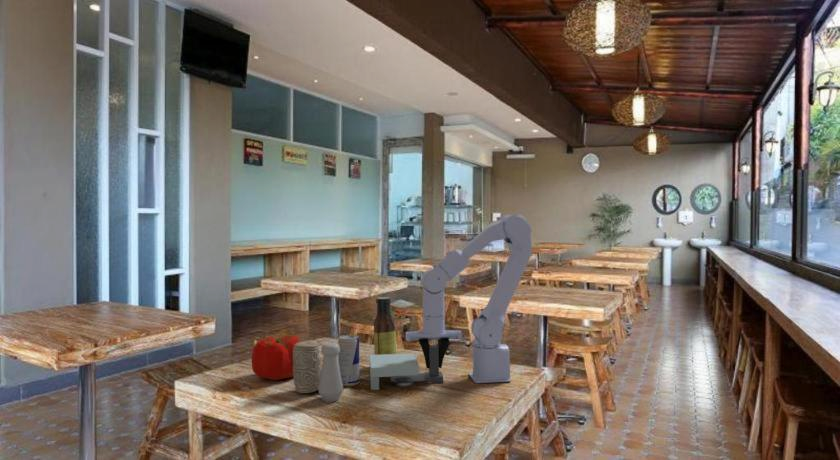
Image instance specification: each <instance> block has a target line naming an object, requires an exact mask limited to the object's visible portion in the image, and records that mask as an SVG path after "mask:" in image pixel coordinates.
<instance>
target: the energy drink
mask: <svg viewBox="0 0 840 460" xmlns="http://www.w3.org/2000/svg"><path fill="white" fill-rule="evenodd" d="M337 344H338V345H339V347H340V353H339V354H337V356H338V362H339V368H340V373H341V379H342V384H343V387H353V386H357V385H358V384H359V383H360V339H359V335H356V334H344V335H340V336H339V337H338V340H337Z"/></svg>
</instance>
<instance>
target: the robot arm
mask: <svg viewBox="0 0 840 460" xmlns="http://www.w3.org/2000/svg"><path fill="white" fill-rule="evenodd" d="M532 230H533V229H532V227H531V226H530V223H529V221H528V220H527V218H526V217H525V216H523V215H522V214H517V213H516V214H504V215H502V216H500V217H499V218H498V219H497V220H494V221H493V222H491V223H490V224H489V225H487V226H486V227H485V228H484V229H483V230H481V231H480V232H479V233H478V234H477V235H476V236H475V237H474V238H472V239H471V240H470V241H469V242H468V243H467V244H466V245H464V247H463V248H461V249H455V248H454V249H453V250H452V251H451V250H448V251H446V252H445V256H444V257H443V258H442V259H440V260H439V261H437V263H435V262H434V263H433V264H432V265H431V267H432V268H429V269H427V270H425V271H423V274H422V276H421V278H420V282H421V285H422V286H423V290H422V295H423V297H422V330H416V331H415V330H414V331H405V341H406V342H411V341H418V343H419V345H420V348H421V351H422V353H423V357H424V360H425V367H426V369H429V368H430V362H429V347H430V345H431V344H430V341H429V340H433V341H434V340H437V345H438V346H439V369H442V368H443V361H444V358H445V356H446V355H445V354H446V352H447V351H448V348H449V347H450V342H451V341H450V340H462V339H463V335H462V334H463V332H462V331H461V329H460V330H453V329H452V330H451V329H445V328H446V327H445V326H446V325H445V323H446V322H445V321H446V319H445V312H446V311H445V303H446V302H445V300H446V299H445V288H446V286H447V283H448V282H451V281H452V280H453V279H454V278H456V277H457V276H458V275H459V274H461V272H463V271H464V270H465V269H467V268H468V267H469V261H470V259H471V258H472V257H474V256H475V255H476V254H478V253H479V252H481V250H483V249H484V248H486V247H487V246H489V245H490V244H491V243H492V242H494V241H501V240H502V241H503V240H504V241H505V243H506V244H507V247H508V249H509V251H510V253H509V256H508V257H507V260H506V263H505V265H504V266H503V269H502V271H501V274H500V276H499V277H498V280H497V283H496V285H495V287H494V289H493V291H492V294H491V295H490V298H489V300H488V303H487V305H486V306H485V307H484V308H483V309H482V310H481V312H480V313H479V316H478V317H477V318H475V319H474V320H473V321H472V322H471V330H470V331H471V333H472V335H473V336H474V340H473V341H472V371H470V372H468V375H469V377H470V378H471V379H472V381H473V382H474V383H475V384H483V383H485V384H486V383H487V384H488V383H506V382H511V381H512V380H511V354H510V348H509V346H508V345H507V344H505V343H504V344H503V343H502V344H501V341H502V338H503V328H504V325H505V322H506V321H505V315H506V312H507V310H508V308H509V306H510V303H511V301H512V299H513V296H514V294H515V292H516V290H517V287H518V285H519V284H520V281H521V279H522V278H523V274H524V272H525V270H526V268H527V266H528V264H529V261H530V259H531V257H532V254H533V248H532V247H533V246H532V236H531V233H532Z"/></svg>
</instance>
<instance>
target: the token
mask: <svg viewBox="0 0 840 460" xmlns="http://www.w3.org/2000/svg"><path fill="white" fill-rule="evenodd" d="M413 383H414V381H413V380H412V379H411V378H398V379H396V382H395V387H398V388H409V387H412V386H413Z"/></svg>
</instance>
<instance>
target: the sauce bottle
mask: <svg viewBox="0 0 840 460" xmlns="http://www.w3.org/2000/svg"><path fill="white" fill-rule="evenodd" d="M375 301H376V313H377V314H376V316H375V318H374V321H373V346H374V347H373V348H374V355H383V354H397V339H396V338H397V335H396V334H397V333H396V324H395V322H394V318H393V316H392V312H391V302H392V301H391V297H390V296H379V297H377V298H376V299H375Z"/></svg>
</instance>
